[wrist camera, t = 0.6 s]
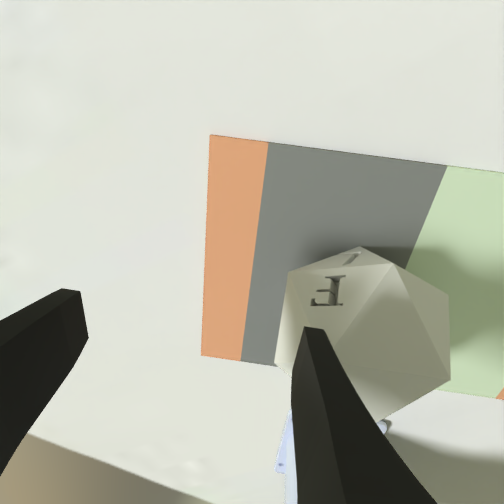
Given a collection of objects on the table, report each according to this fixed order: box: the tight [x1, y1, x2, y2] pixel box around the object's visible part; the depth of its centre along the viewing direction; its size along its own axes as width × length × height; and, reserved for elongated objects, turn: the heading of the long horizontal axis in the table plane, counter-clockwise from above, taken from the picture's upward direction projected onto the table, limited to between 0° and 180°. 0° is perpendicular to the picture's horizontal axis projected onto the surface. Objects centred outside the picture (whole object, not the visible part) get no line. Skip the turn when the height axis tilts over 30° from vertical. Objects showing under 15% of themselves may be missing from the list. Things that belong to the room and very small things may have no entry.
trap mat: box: [201, 135, 504, 400], centre depth 20 cm, size 16×25×1 cm, turn 84°
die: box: [274, 246, 451, 423], centre depth 17 cm, size 8×9×10 cm
